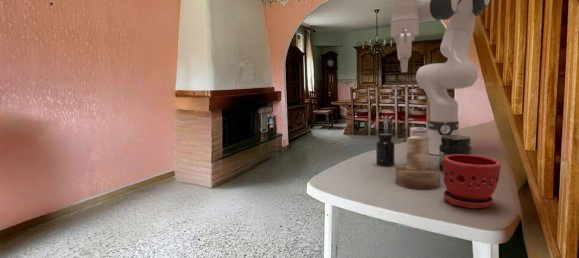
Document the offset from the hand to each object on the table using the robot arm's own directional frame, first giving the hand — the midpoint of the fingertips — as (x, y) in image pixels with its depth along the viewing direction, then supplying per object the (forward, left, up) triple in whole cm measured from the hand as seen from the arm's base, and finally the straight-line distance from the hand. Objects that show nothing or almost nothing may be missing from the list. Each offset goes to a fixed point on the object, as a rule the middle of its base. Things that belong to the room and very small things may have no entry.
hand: (403, 72), depth 116 cm
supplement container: (-6, +18, -35) cm, 40 cm away
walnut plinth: (+13, +4, -35) cm, 38 cm away
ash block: (+13, +4, -30) cm, 33 cm away
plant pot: (+28, +16, -35) cm, 48 cm away
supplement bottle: (-10, -6, -35) cm, 37 cm away
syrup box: (-10, +6, -35) cm, 37 cm away
